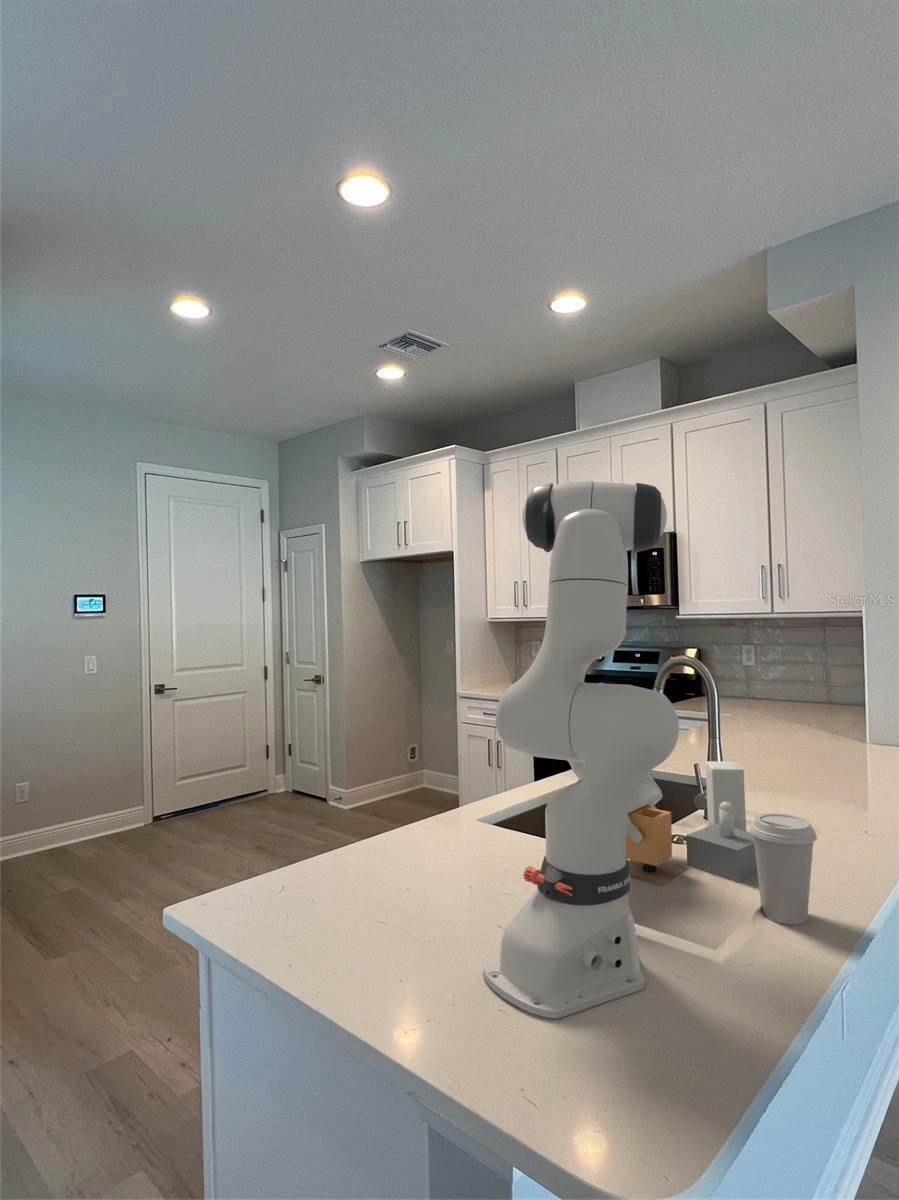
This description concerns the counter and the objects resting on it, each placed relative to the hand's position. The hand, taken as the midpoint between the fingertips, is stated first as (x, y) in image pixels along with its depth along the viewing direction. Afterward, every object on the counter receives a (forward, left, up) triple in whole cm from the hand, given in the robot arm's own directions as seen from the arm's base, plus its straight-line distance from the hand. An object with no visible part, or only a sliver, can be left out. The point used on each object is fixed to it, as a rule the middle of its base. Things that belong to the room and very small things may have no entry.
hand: (651, 834), depth 125 cm
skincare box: (+28, +3, -8) cm, 30 cm away
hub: (+12, -7, -8) cm, 16 cm away
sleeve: (0, +1, -4) cm, 4 cm away
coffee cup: (+4, -22, -8) cm, 24 cm away
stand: (0, +1, -8) cm, 8 cm away
